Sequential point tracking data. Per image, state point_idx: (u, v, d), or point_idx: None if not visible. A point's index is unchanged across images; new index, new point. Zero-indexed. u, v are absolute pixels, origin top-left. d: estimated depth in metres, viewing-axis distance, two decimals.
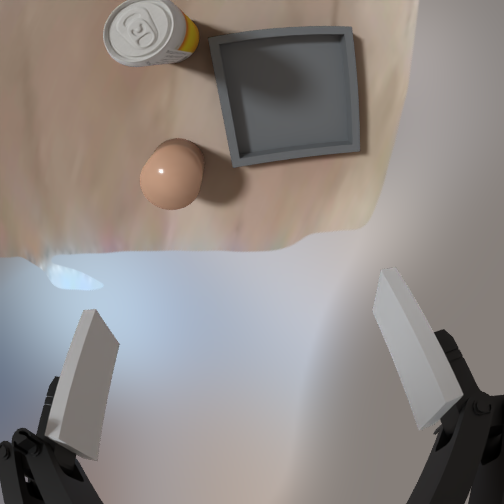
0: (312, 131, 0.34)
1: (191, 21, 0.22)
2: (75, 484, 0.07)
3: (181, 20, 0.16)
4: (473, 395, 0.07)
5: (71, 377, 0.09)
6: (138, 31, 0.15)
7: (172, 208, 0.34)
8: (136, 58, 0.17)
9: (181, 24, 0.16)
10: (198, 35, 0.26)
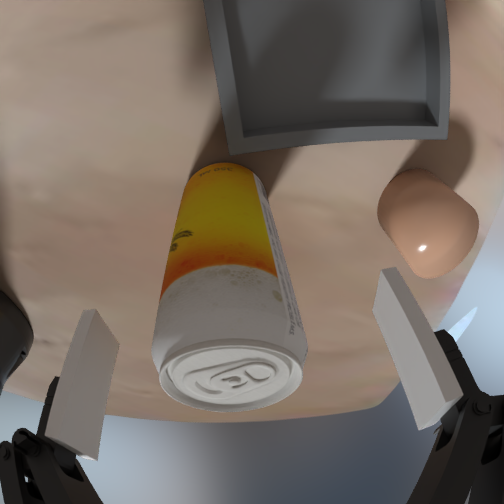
0: (402, 1, 0.13)
1: (199, 198, 0.16)
2: (75, 484, 0.07)
3: (217, 310, 0.09)
4: (473, 395, 0.07)
5: (71, 377, 0.09)
6: (236, 382, 0.10)
7: (472, 243, 0.19)
8: (291, 374, 0.11)
9: (228, 310, 0.09)
10: (222, 168, 0.19)
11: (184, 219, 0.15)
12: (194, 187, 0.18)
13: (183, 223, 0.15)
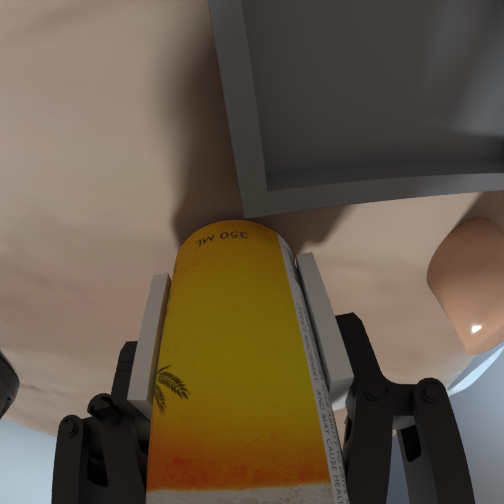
0: None
1: (197, 301, 0.10)
2: None
3: None
4: (363, 382, 0.08)
5: (153, 337, 0.11)
6: None
7: None
8: None
9: None
10: (233, 232, 0.13)
11: (174, 342, 0.09)
12: (190, 268, 0.12)
13: (173, 353, 0.09)
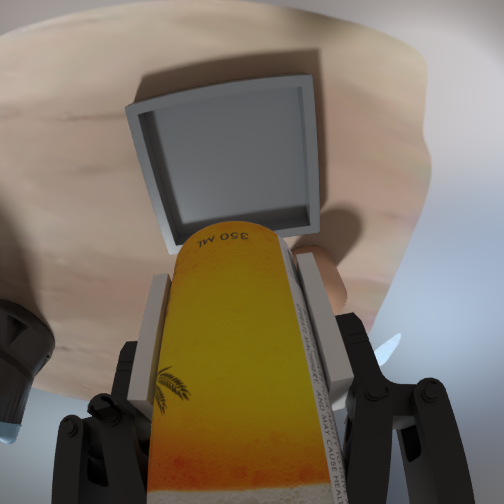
0: (284, 133, 0.26)
1: (197, 302, 0.10)
2: None
3: None
4: (363, 382, 0.08)
5: (153, 337, 0.11)
6: None
7: (344, 301, 0.33)
8: None
9: None
10: (233, 233, 0.13)
11: (174, 344, 0.09)
12: (190, 269, 0.12)
13: (173, 354, 0.09)
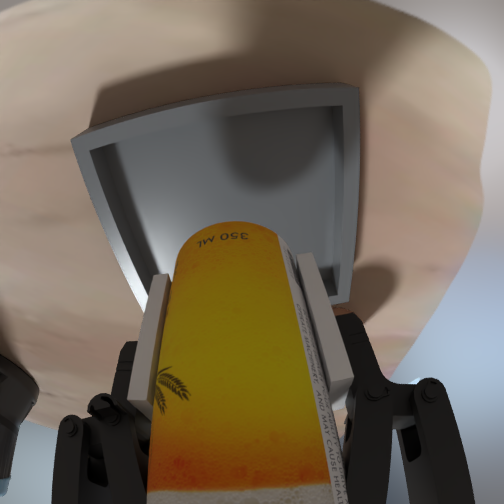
0: (309, 173, 0.18)
1: (197, 302, 0.10)
2: None
3: None
4: (362, 382, 0.08)
5: (153, 337, 0.11)
6: None
7: None
8: None
9: None
10: (233, 233, 0.13)
11: (174, 344, 0.09)
12: (190, 269, 0.12)
13: (173, 354, 0.09)
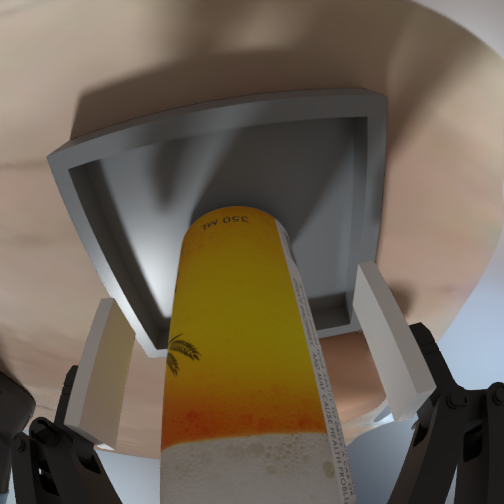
0: (325, 193, 0.16)
1: (204, 277, 0.11)
2: (92, 477, 0.07)
3: None
4: (446, 389, 0.07)
5: (91, 364, 0.10)
6: None
7: (381, 402, 0.22)
8: None
9: None
10: (234, 217, 0.14)
11: (185, 314, 0.10)
12: (196, 249, 0.13)
13: (184, 323, 0.10)
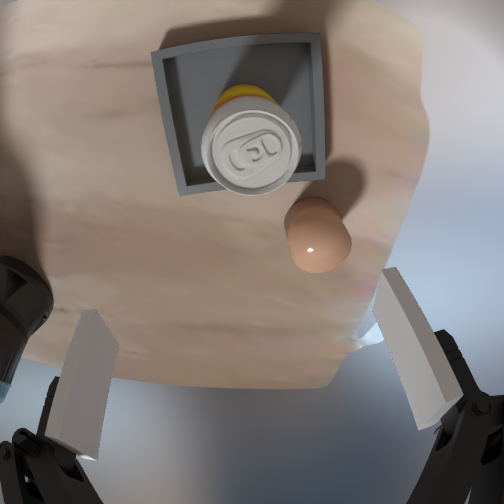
0: (293, 85, 0.27)
1: (231, 91, 0.22)
2: (75, 484, 0.07)
3: (248, 100, 0.16)
4: (473, 395, 0.07)
5: (71, 377, 0.09)
6: (256, 152, 0.16)
7: (349, 250, 0.34)
8: (291, 157, 0.17)
9: (254, 100, 0.15)
10: None
11: (221, 99, 0.21)
12: (226, 92, 0.24)
13: (221, 99, 0.21)
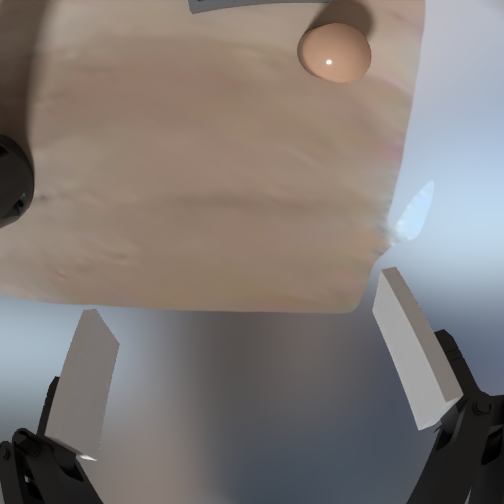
0: None
1: None
2: (75, 484, 0.07)
3: None
4: (473, 395, 0.07)
5: (71, 377, 0.09)
6: None
7: (369, 58, 0.25)
8: None
9: None
10: None
11: None
12: None
13: None
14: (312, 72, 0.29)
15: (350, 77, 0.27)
